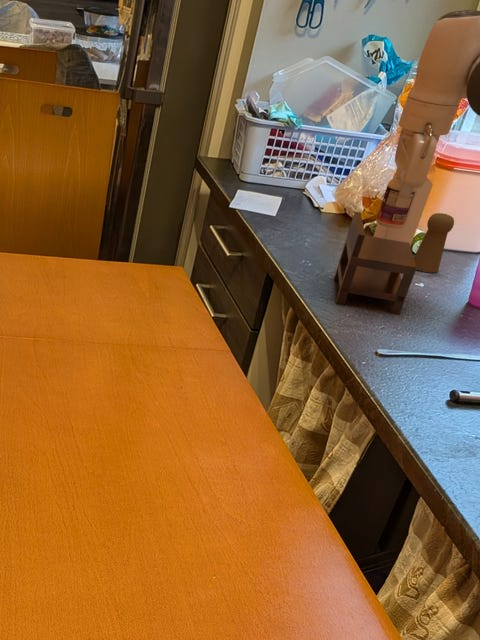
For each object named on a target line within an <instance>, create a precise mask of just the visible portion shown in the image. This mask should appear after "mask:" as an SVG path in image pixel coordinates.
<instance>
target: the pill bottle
mask: <svg viewBox="0 0 480 640" xmlns="http://www.w3.org/2000/svg"><path fill="white" fill-rule="evenodd" d="M395 172H396V173H395ZM395 172H394V173H395V176H396V177H395V179H393V178H392V179H391V180H389V181H388V182H387V185H386V189H385V190H384V191H385V192H384V195H383V198H382V201H381V203H380V207H379V211H378V213H377V215H376V220H375V221H376V224H379V225H382V226H385V227H389V228H403V227H404V226H405V224H406V221H407V218H408V215H409V212H410V210H411V207H412V204H413V201H414V198H415V195H416V192H417V189H418V188H416V187H414V189H413V191H412V193H411V194H410V196H409V198H408V200H407V203H406V206H405V207H403V208H402V207H397V206H396V204H395V201H396V198H397V195H398V194H399V191H400V188H401V184H402V181H401V178H400V175H399V167H397V166H396V170H395Z"/></svg>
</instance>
